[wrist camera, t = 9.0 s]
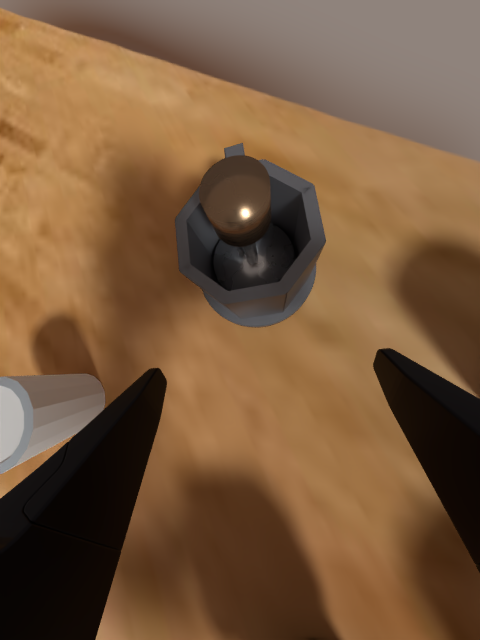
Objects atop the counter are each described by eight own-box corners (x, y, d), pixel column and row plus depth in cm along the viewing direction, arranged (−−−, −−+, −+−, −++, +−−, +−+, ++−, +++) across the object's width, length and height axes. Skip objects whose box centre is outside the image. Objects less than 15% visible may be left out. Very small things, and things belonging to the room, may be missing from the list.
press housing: (324, 317, 18) (355, 298, 11) (209, 334, 20) (170, 327, 13) (299, 193, 20) (312, 108, 13) (196, 218, 22) (157, 155, 15)
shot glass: (121, 385, 21) (47, 403, 14) (92, 447, 21) (1, 496, 14) (73, 357, 23) (-15, 361, 16) (45, 414, 22) (-57, 444, 15)
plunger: (300, 292, 17) (322, 238, 8) (219, 305, 18) (171, 269, 9) (286, 216, 18) (295, 105, 10) (211, 234, 19) (161, 147, 11)
